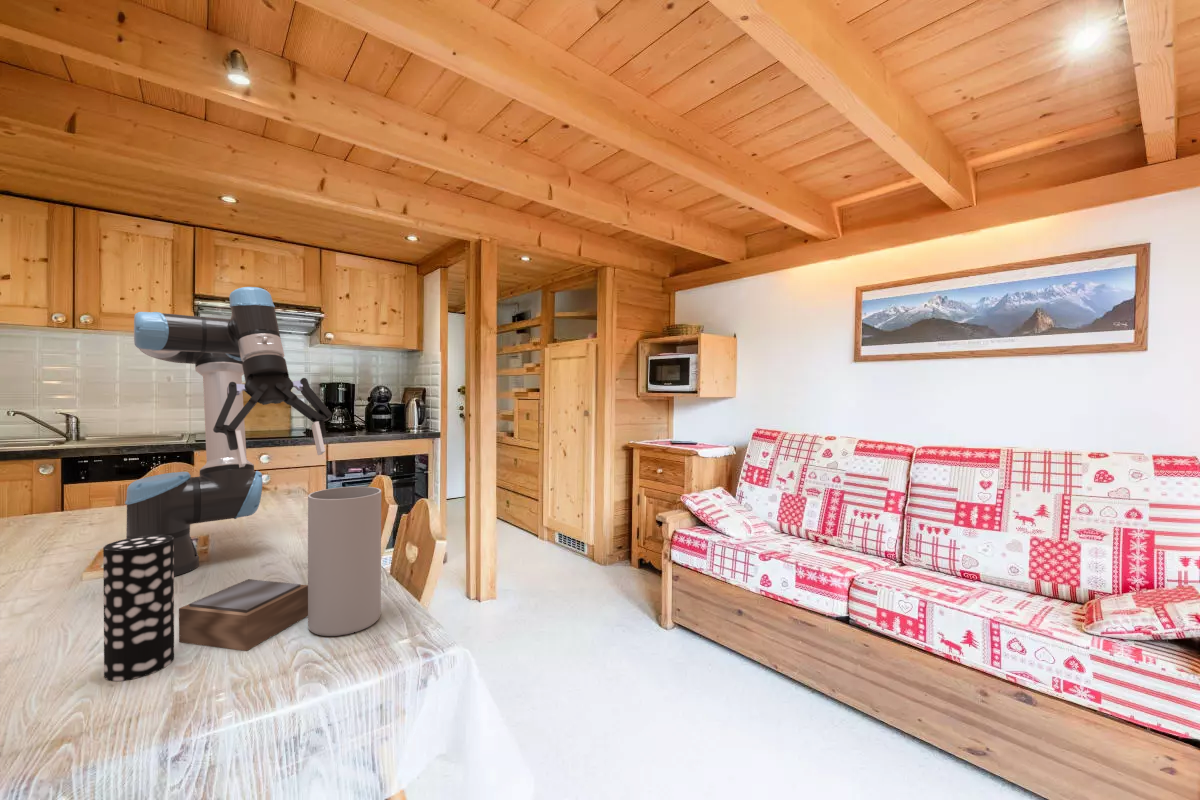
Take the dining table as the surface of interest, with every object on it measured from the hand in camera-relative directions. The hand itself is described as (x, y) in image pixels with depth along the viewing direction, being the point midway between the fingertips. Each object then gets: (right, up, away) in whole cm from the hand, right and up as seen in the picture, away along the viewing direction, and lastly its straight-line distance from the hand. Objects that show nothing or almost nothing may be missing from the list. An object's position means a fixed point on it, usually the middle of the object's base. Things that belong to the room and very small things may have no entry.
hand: (284, 459), depth 100 cm
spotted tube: (-11, -31, -19) cm, 38 cm away
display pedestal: (-3, -31, -6) cm, 32 cm away
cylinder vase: (+13, -31, -3) cm, 34 cm away
